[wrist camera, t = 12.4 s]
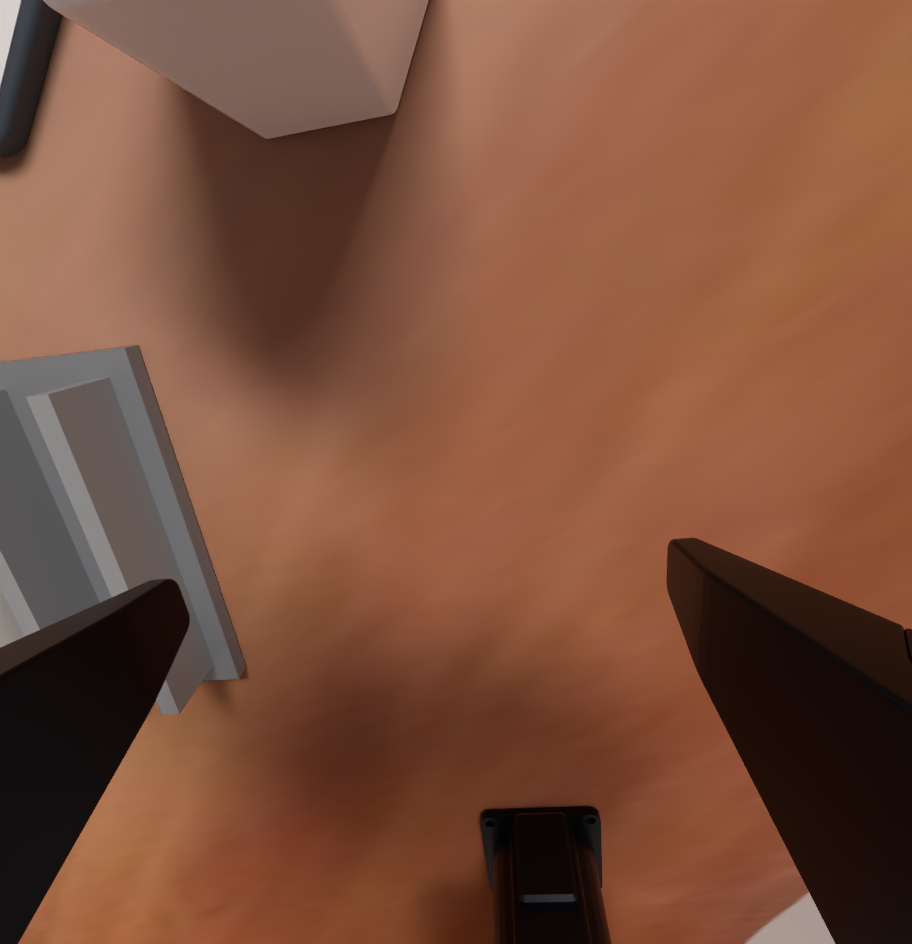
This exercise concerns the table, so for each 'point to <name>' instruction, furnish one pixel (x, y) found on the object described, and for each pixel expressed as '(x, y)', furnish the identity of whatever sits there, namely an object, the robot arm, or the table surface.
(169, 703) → the dish rack
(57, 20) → the phone case
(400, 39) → the jar
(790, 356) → the table surface
